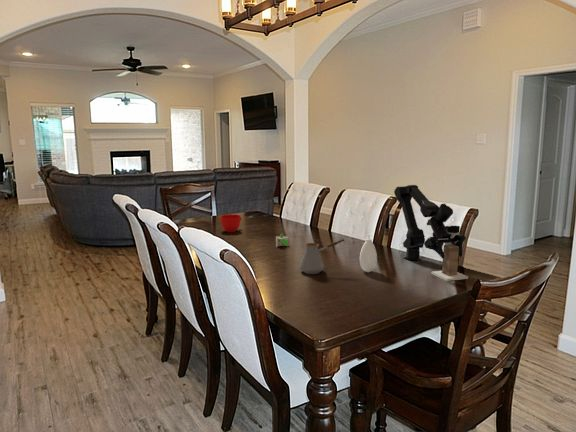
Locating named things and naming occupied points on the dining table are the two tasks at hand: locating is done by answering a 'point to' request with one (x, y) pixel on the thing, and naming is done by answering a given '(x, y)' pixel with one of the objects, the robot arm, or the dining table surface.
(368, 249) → the white teardrop shape
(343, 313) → the dining table surface
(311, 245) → the coffee pot
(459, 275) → the felt coaster
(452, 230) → the travel mug
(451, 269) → the walnut block
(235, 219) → the ceramic cup
